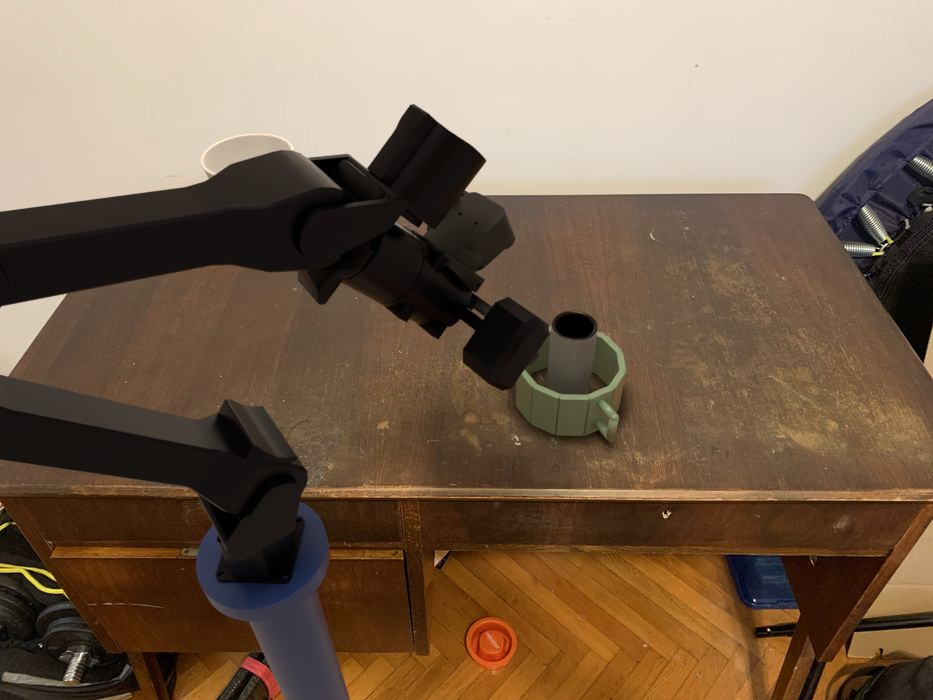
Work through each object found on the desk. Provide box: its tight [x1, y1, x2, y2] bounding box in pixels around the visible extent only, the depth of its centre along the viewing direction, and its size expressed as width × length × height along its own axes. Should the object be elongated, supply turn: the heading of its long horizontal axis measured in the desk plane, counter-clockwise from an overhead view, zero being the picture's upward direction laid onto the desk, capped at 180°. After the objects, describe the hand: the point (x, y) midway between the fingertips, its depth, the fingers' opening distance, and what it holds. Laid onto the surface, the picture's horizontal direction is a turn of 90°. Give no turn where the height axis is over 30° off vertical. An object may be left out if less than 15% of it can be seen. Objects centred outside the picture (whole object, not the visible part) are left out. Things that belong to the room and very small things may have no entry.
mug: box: [514, 325, 627, 442], centre depth 75 cm, size 14×11×6 cm
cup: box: [199, 132, 295, 179], centre depth 97 cm, size 12×12×12 cm
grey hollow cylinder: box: [545, 310, 599, 395], centre depth 74 cm, size 4×4×10 cm
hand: (501, 333), depth 66 cm, fingers open, 9 cm apart
